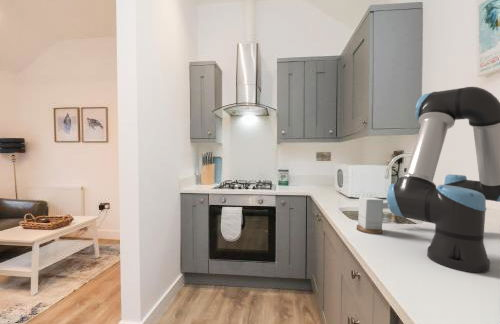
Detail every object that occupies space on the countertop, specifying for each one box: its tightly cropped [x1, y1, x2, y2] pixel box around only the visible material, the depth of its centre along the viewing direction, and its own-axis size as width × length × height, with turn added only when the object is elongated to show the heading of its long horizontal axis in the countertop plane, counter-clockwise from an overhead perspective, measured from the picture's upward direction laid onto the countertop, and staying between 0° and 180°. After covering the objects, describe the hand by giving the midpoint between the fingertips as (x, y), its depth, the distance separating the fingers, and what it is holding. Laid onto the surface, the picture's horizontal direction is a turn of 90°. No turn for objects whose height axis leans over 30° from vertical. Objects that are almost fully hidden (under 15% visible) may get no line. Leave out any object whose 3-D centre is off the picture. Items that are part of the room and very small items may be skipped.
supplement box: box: [357, 196, 384, 230], centre depth 110 cm, size 7×7×13 cm
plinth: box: [356, 224, 383, 235], centre depth 110 cm, size 10×10×2 cm
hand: (388, 208), depth 111 cm, fingers open, 13 cm apart
